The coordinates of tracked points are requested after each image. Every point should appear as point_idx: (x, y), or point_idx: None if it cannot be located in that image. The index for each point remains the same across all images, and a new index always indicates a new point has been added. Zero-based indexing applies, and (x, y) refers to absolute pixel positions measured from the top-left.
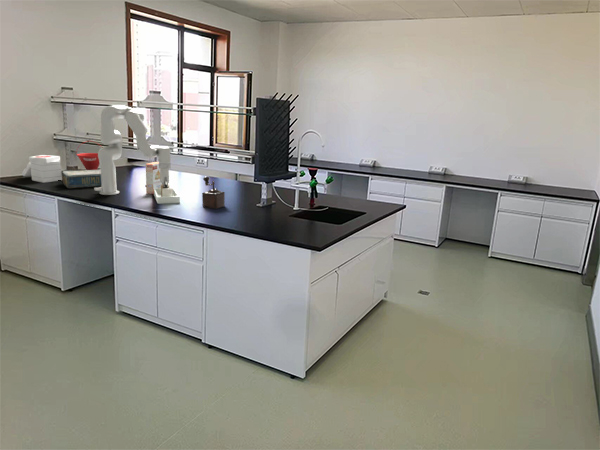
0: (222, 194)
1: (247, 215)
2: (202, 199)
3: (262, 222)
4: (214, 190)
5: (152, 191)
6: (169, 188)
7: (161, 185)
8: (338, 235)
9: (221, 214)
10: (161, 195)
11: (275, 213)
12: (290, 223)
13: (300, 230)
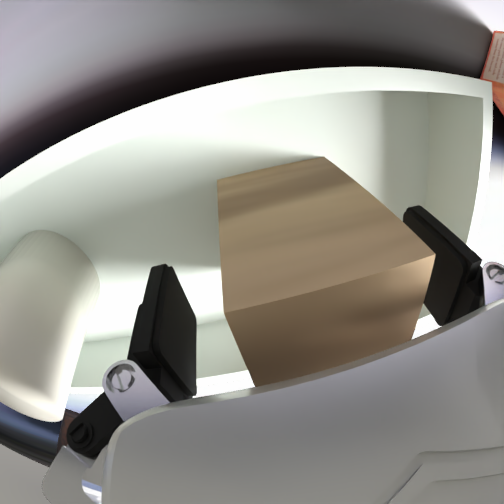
0: None
1: (50, 445)
2: (58, 439)
3: (22, 440)
4: None
5: (499, 78)
6: (34, 405)
7: (282, 305)
8: (31, 459)
9: (18, 418)
10: (249, 181)
11: None
12: (46, 457)
13: (21, 449)
